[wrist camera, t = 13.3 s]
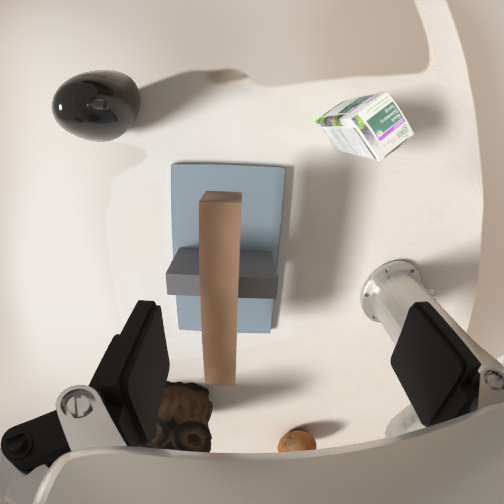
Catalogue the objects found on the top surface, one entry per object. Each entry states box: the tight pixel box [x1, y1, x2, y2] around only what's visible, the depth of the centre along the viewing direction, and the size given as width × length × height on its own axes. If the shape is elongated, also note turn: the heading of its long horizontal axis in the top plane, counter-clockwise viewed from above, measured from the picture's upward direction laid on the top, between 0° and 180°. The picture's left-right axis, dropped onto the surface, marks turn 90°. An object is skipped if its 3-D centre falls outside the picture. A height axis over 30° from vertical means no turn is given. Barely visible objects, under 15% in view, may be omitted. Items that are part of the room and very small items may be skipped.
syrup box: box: [315, 92, 415, 162], centre depth 32 cm, size 6×6×14 cm
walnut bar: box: [199, 191, 242, 385], centre depth 34 cm, size 4×24×6 cm, turn 177°
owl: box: [146, 381, 213, 453], centre depth 49 cm, size 13×13×20 cm
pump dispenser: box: [52, 70, 140, 142], centre depth 29 cm, size 10×10×15 cm
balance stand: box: [166, 164, 285, 333], centre depth 41 cm, size 16×28×10 cm, turn 177°
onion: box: [278, 430, 316, 453], centre depth 61 cm, size 10×10×10 cm
